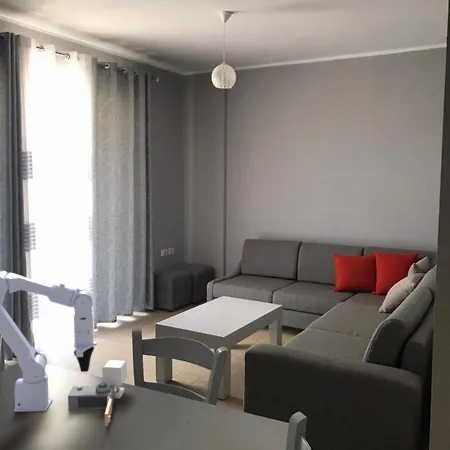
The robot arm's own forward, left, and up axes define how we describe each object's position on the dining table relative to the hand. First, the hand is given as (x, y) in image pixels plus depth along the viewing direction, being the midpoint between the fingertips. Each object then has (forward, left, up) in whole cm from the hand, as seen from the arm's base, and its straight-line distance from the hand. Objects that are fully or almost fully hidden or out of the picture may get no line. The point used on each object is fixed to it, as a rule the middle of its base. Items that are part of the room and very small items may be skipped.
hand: (84, 370), depth 165 cm
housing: (+3, -2, -10) cm, 11 cm away
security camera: (+9, +5, -10) cm, 14 cm away
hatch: (+9, -12, -10) cm, 18 cm away
